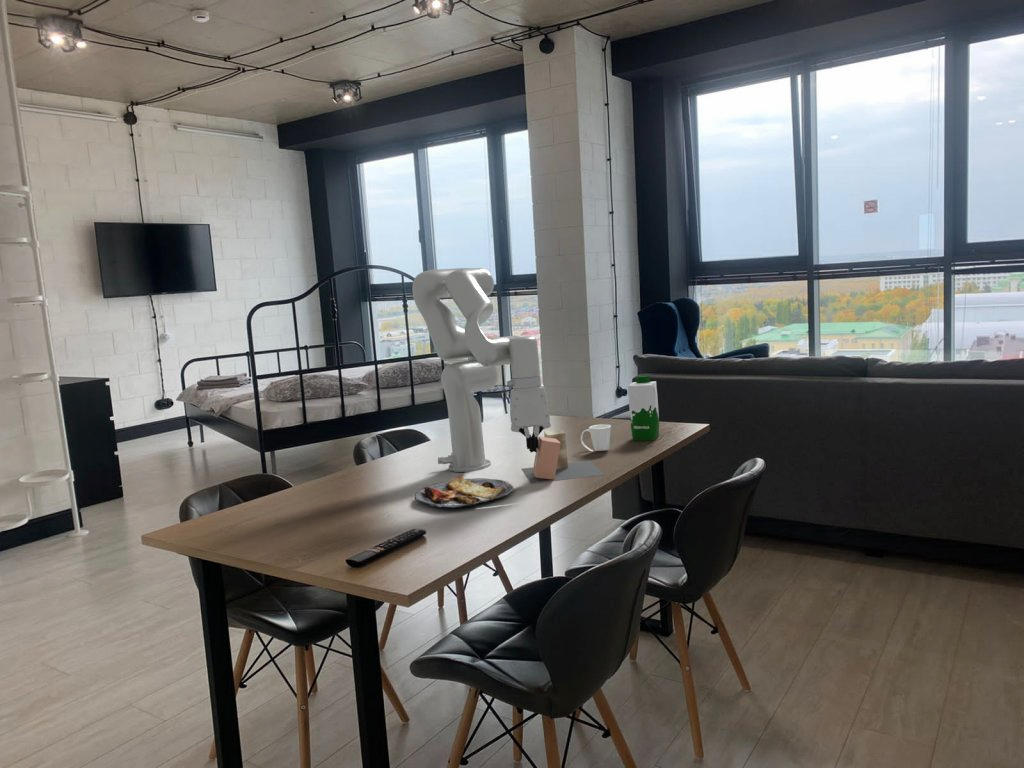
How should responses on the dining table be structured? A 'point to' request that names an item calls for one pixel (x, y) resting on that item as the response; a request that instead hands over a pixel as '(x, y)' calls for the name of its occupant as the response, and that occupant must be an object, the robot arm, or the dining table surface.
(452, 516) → the dining table surface
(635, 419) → the milk carton
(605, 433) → the cup
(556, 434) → the beech block
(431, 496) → the food plate
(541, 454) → the terracotta block
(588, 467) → the rubber mat
